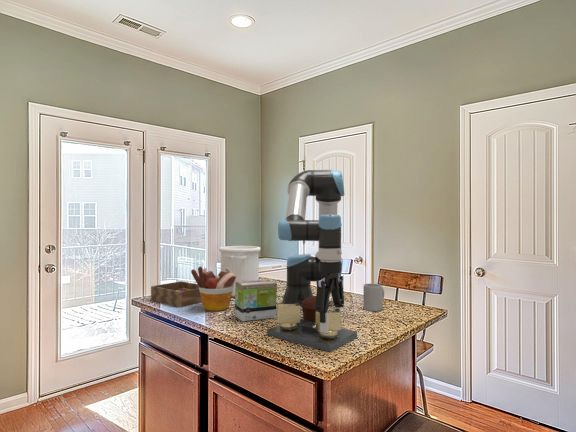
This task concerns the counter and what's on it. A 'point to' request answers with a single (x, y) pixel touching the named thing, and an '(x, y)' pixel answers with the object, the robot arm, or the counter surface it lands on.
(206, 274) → the bucket of meat
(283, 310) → the knob
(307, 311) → the muffin
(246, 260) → the bucket
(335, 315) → the knob
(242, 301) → the tea box
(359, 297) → the counter surface
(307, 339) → the levelling plate
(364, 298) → the mug
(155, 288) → the book tray
